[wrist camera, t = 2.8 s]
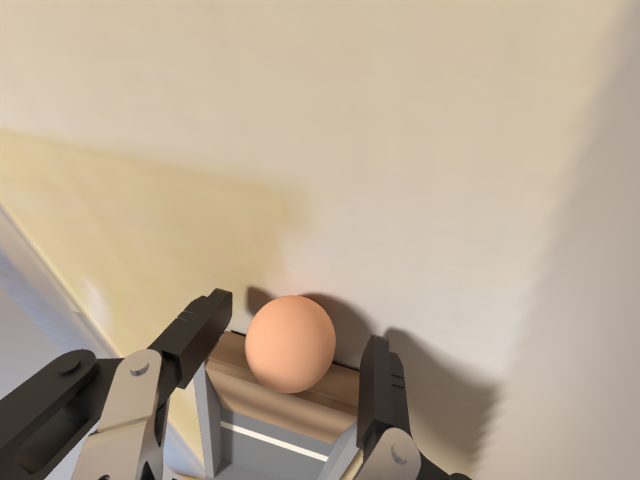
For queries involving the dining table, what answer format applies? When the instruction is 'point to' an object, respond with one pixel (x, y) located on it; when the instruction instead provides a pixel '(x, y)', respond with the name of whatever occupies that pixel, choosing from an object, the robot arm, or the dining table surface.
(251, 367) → the ball
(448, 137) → the dining table surface
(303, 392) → the ramp
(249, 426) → the lane
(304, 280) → the dining table surface
